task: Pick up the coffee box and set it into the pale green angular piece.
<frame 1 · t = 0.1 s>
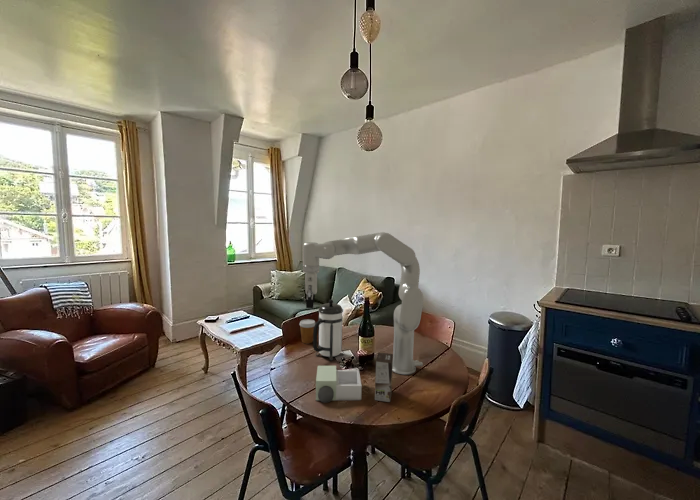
hand: (310, 305, 145), 31 cm above the table, tool pointing down, fingers open, 9 cm apart
coffee press: (328, 356, 162), on the table
coffee box: (383, 395, 126), on the table
pale green angular piece: (337, 391, 128), on the table
disposable coffee cup: (307, 341, 181), on the table
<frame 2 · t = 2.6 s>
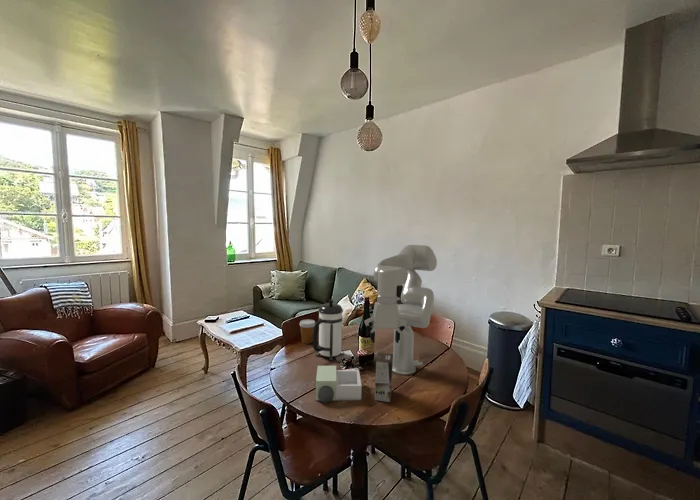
hand: (385, 341, 124), 23 cm above the table, tool pointing down, fingers open, 9 cm apart
nothing on the table moved.
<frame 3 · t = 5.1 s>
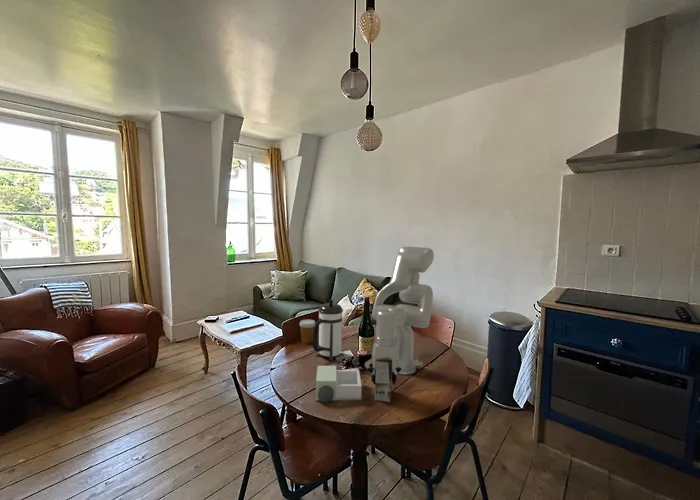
hand: (383, 382, 126), 5 cm above the table, tool pointing down, fingers closed on coffee box, 7 cm apart
coffee box: (383, 395, 126), on the table, touching gripper
everything else where it was.
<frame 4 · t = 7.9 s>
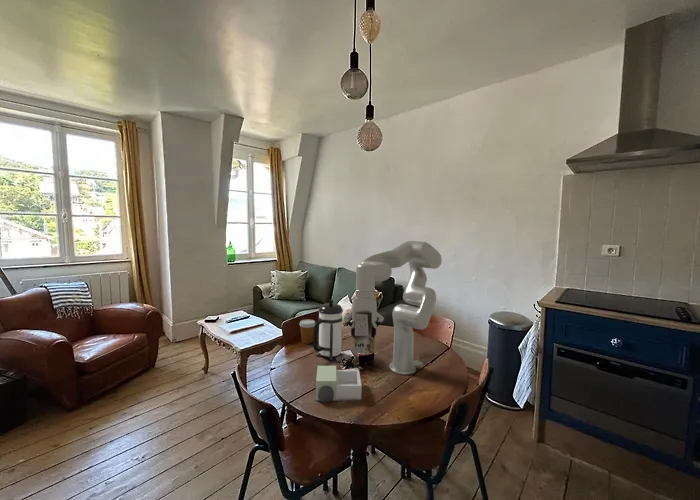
hand: (363, 336, 125), 24 cm above the table, tool pointing down, fingers closed on coffee box, 7 cm apart
coffee box: (363, 350, 125), point 18 cm above the table, touching gripper
everything else where it was.
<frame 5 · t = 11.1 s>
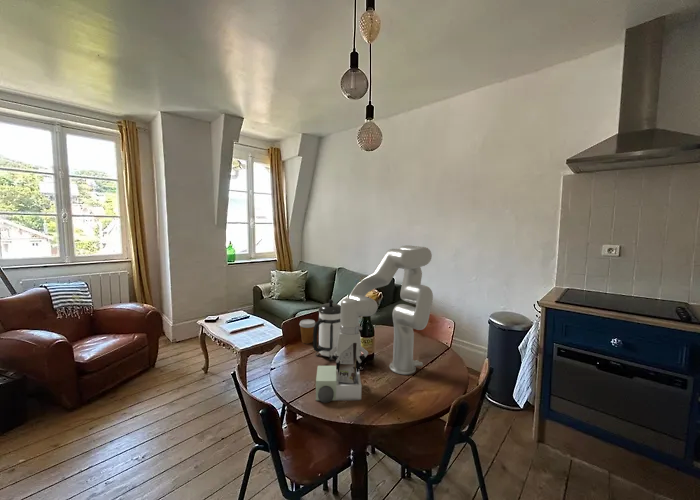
hand: (348, 370, 128), 9 cm above the table, tool pointing down, fingers closed on coffee box, 7 cm apart
coffee box: (347, 379, 128), point 5 cm above the table, touching gripper, pale green angular piece
everything else where it was.
when the fingers open (9 cm above the table, at t = 12.2 s): coffee box drops 4 cm, resting on pale green angular piece.
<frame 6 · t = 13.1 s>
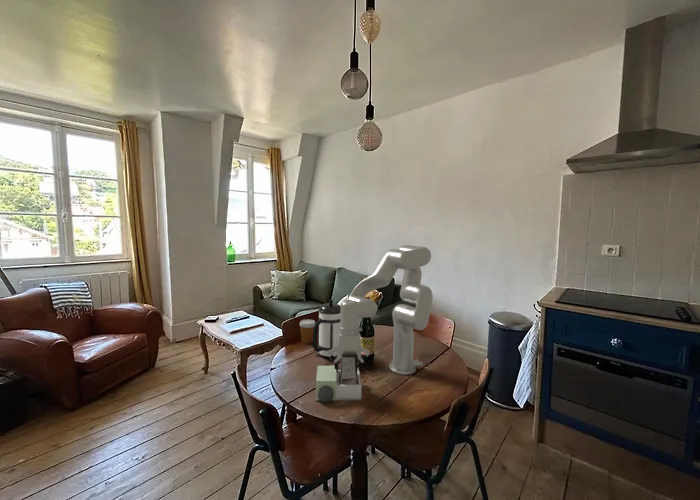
hand: (348, 370, 128), 9 cm above the table, tool pointing down, fingers open, 9 cm apart
coffee box: (348, 390, 128), point 1 cm above the table, touching pale green angular piece
everything else where it was.
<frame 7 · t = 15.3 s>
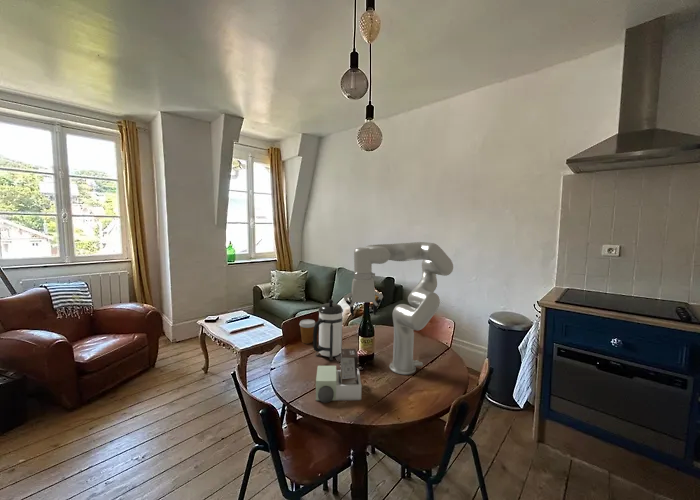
hand: (363, 314, 135), 30 cm above the table, tool pointing down, fingers open, 9 cm apart
nothing on the table moved.
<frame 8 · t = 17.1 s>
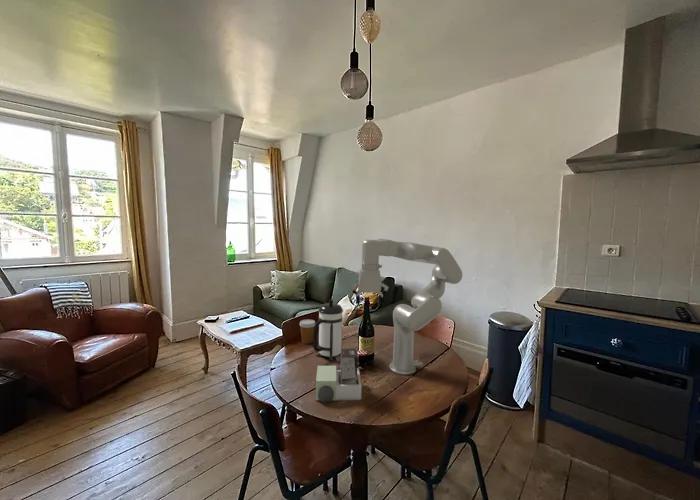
hand: (369, 304, 140), 33 cm above the table, tool pointing down, fingers open, 9 cm apart
nothing on the table moved.
at the end: coffee box 0.5 cm from the target spot on the pale green angular piece, point 0.6 cm above the pale green angular piece's base; coffee box tilted 0°; the gripper is holding nothing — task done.
